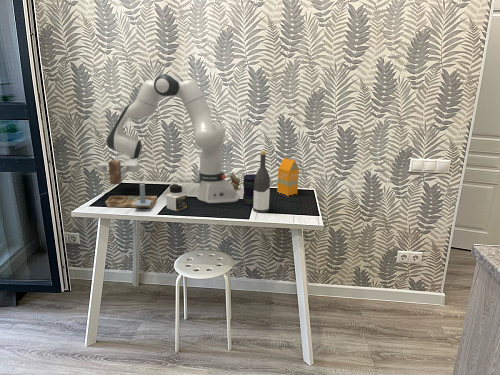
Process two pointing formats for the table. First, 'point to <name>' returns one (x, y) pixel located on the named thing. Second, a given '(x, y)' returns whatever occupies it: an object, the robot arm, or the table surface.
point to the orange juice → (288, 177)
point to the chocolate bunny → (234, 181)
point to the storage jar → (248, 190)
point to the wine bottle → (261, 188)
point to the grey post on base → (142, 198)
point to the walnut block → (115, 172)
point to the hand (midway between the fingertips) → (114, 170)
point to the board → (128, 201)
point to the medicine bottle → (176, 198)
